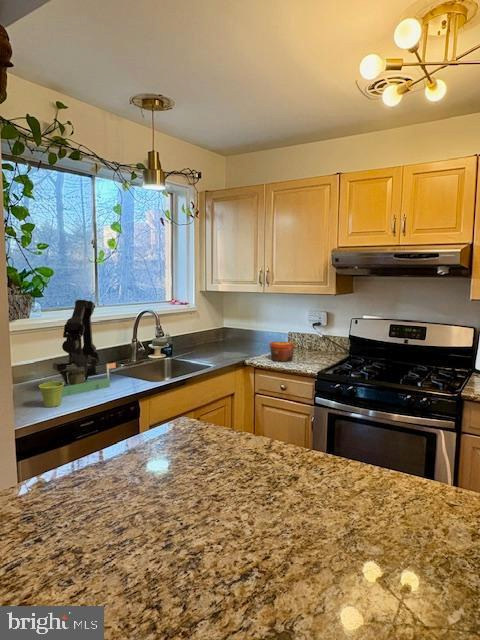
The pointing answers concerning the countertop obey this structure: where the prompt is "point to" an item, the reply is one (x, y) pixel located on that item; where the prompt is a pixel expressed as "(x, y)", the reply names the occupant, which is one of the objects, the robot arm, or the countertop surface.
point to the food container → (282, 351)
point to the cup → (76, 377)
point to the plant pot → (52, 393)
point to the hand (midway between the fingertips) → (76, 382)
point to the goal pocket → (88, 384)
